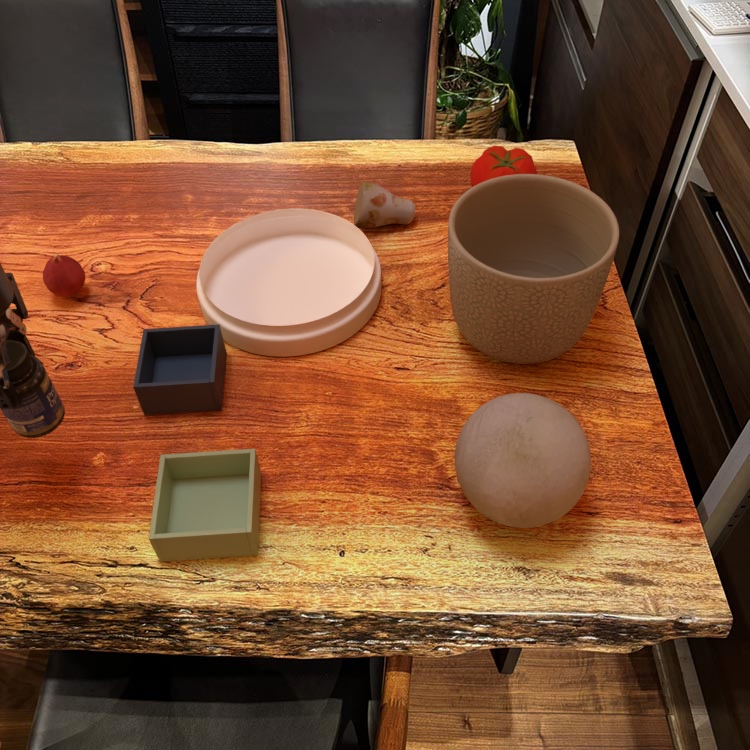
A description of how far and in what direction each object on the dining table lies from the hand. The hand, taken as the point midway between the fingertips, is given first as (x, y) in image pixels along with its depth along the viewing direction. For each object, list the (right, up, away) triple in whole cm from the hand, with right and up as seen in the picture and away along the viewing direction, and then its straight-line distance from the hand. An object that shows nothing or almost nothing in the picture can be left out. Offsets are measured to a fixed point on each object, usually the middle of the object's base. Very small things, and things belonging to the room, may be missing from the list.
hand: (19, 382), depth 89 cm
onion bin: (+20, -16, +6) cm, 26 cm away
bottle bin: (+14, 0, +20) cm, 24 cm away
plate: (+27, +13, +31) cm, 43 cm away
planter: (+59, +7, +25) cm, 65 cm away
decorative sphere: (+56, -14, +7) cm, 58 cm away
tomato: (+61, +31, +45) cm, 81 cm away
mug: (+41, +26, +41) cm, 64 cm away
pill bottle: (0, -4, +5) cm, 7 cm away
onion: (-6, +13, +32) cm, 35 cm away
